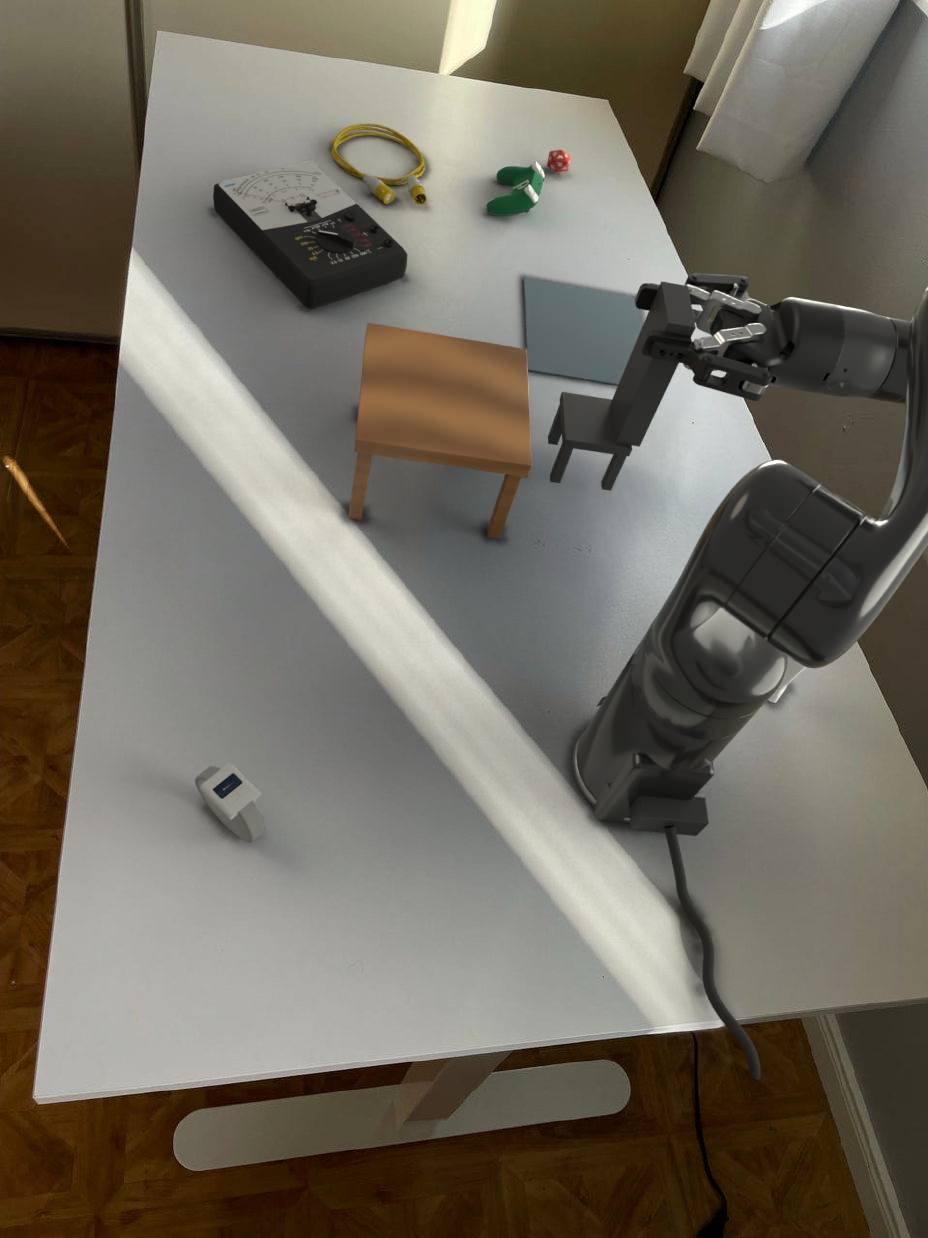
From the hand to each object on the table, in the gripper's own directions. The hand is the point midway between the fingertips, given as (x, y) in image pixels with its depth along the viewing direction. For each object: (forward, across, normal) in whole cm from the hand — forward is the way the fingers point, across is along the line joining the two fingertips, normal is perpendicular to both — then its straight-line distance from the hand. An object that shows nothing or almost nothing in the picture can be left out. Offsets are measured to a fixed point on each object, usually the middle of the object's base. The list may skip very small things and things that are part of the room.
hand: (641, 318), depth 85 cm
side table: (+15, +3, +19) cm, 25 cm away
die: (0, -54, +20) cm, 58 cm away
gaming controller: (+6, -45, +20) cm, 49 cm away
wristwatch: (+29, +40, +19) cm, 53 cm away
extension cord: (+23, -47, +19) cm, 56 cm away
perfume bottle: (-16, +23, +20) cm, 34 cm away
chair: (0, 0, +18) cm, 18 cm away
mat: (-2, -22, +19) cm, 29 cm away
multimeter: (+30, -29, +19) cm, 46 cm away
